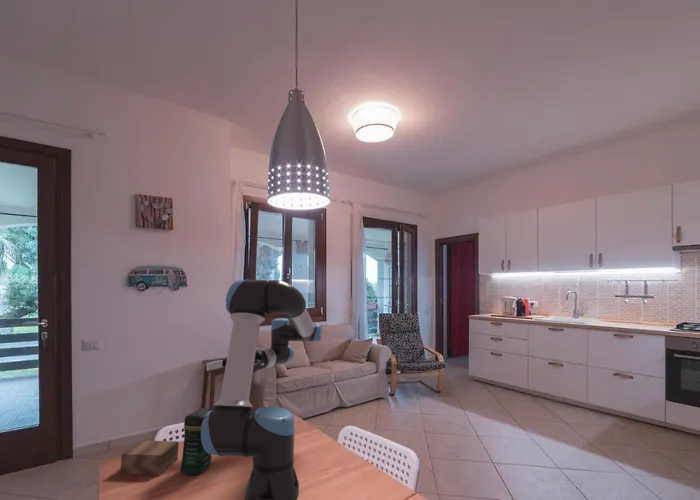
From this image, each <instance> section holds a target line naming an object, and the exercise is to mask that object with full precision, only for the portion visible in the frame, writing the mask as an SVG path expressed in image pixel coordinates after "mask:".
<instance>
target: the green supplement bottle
mask: <svg viewBox="0 0 700 500" xmlns="http://www.w3.org/2000/svg"><path fill="white" fill-rule="evenodd" d="M210 411H213V409H212V408H206V407H200V408H199V409H197V410H194V411H193V412H190V413H189V414H187V415H186V416H185V418H184V422H183V423H184V425H183V428H184V436H183V437H184V439H183V448H182V458H181V465H180V466H181V467H180V473H182V474H184V475H187V476H193V475H200V474H202V473H204V472H205V471H206V470H207V469H208V468H209V467H210V466H211V464H212V454H208V453H207V452H206V451H205V450H204V448H203V445H202V442H201V427H202V422H203V420H204V419H205V415H206V414H207V413H208V412H210Z"/></svg>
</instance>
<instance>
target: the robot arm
mask: <svg viewBox="0 0 700 500" xmlns="http://www.w3.org/2000/svg"><path fill="white" fill-rule="evenodd" d="M227 290H228V291H227V292H226V296H225V308H226V309H225V310H226V311H227V312H228V313H229V318H230V319H231V321H232V322H233V323H232V330H231V334H230V340H229V345H228V352H227V357H225V358H218V360H215V361H211V362H207V363H206V368H205V369H206V372H208V371H213V370H217V369H223V367H225V368H224V369H225V370H224V375H223V380H222V384H221V390H220V391H221V392H220V396H219V399H218V400H217V401H216V402H215V403H213V407H212V411H210V412H208V413H207V414H206V415H205V419H204V420H203V422H202V427H201V442H202V445H203V448H204V450H205V451H206V452H207V453H208V454H211V456H213V455H214V456H218V457H224V456H225V457H226V456H228V457H244V458H245V457H246V458H252V470H251V472H250V475H249V478H248V482H247V485H246V488H245V497H244V498H245V500H297V498H298V496H299V494H300V483H299V480H298V475H297V472H296V470H295V466H294V459H295V452H294V451H295V432H296V429H295V417H294V415H293V413H292V412H290V411H289V410H288V409H286V408H282V407H279V406H273V405H270V406H261V407H258V408H257V409H256V410H255V411H254V412H253V408H254V407H253V405H252V404H251V402H250V400H249V399H250V394H251V389H252V388H251V386H252V380H253V374H254V373H255V372H257V371H259V370H263V369H269V368H270V367H274V366H277V365H283V364H285V363H288V362H290V361H291V360H292V359H293V358H294V354H295V353H294V350H293V346H291V344H289V342H311V343H313V342H319V341H321V339H322V337H323V329H322V325H321V324H320V323H316V322H313V320H312V318H311V315H310V313H309V311H308V310H307V302H306V298H305V297H304V295H303V294H302V293H301V291H299V290H298V288H296V287H295V286H293V285H291V284H290V283H289V282H285V281H283V280H279V279H244V280H243V279H241V280H236V281H234V282H233V283H232V284H231V285H230V286H229V288H228V289H227ZM266 315H283V316H284V317H285V318H284V317H283V318H274V319H272V321H271V328H270V338H271V339H270V347H269V348H268V347H267V348H264V349H260V350H257V347H258V339H259V331H260V325H261V324H262V323H264V322H265V320H266ZM290 322H291V323H290Z"/></svg>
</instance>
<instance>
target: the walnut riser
mask: <svg viewBox="0 0 700 500" xmlns="http://www.w3.org/2000/svg"><path fill="white" fill-rule="evenodd" d="M120 459H121V460H120V472H119V473H120V474H119V475H141V476H142V475H144V476H146V475H147V476H160V475H162V474H163V473H164V472H165V471H166V470H167V469H168V468H170V467H171V466H173V464H174V463H175V462H177V461H178V459H179V441H175V440H172V441H171V440H147V439H146V440H144V439H143V440H141V441H139V442H138V443H136V444H135V445H134V446H132V447H130V448H129V449H127V450H126V451H124V452H123V453H121V457H120Z"/></svg>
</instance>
